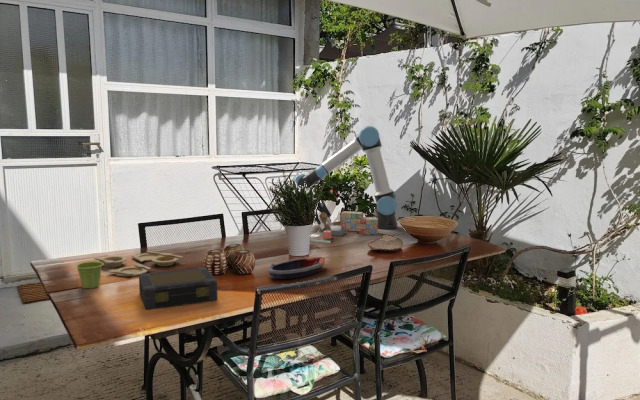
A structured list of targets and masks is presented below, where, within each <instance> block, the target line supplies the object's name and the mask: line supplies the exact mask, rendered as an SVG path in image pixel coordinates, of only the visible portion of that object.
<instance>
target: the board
mask: <svg viewBox="0 0 640 400" xmlns="http://www.w3.org/2000/svg"><path fill="white" fill-rule="evenodd" d="M326 231H332V236H334V237H342V236H343V235H345V234H346V233H347V230H346V229H344V228H341V231H333V230H331V228H330V227H329V228H326ZM310 235H311V236H310V237H311V243H321V244H328V245H329V244H331V243H334V242H335V240H331V239H319V238H317V237H320V236H321V235H322V236H323V232H319V231H318V230H317V232H314V233H312V234H310Z"/></svg>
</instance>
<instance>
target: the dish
mask: <svg viewBox="0 0 640 400" xmlns="http://www.w3.org/2000/svg"><path fill="white" fill-rule="evenodd" d="M325 260H326V259H325V257H324V256H323V257H322V256H311V257H309V256H308V257H300V258H294V259H289V260H284V261H281V262H277V263H271V265H269V267H268V268H267V272H268V274H269V276H270V277H271V278H273V279H277V280H292V279H293V280H294V279H298V278H304V277H307V276H308V277H309V276H312V275H314V274H316V273H318V272H321V270H322V269H323V267H324V265H325V262H326V261H325Z"/></svg>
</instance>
